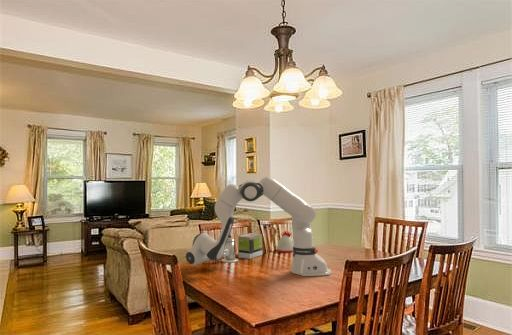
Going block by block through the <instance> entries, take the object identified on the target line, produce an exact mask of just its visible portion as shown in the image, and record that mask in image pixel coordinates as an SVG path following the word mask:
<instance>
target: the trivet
mask: <svg viewBox="0 0 512 335" xmlns="http://www.w3.org/2000/svg"><path fill="white" fill-rule="evenodd" d="M221 262H222V263H225V262H226V263H227V264H228V263H229V264H230V263H231V264H232V263H237V262H239V257H238V258H237V257H234V260H230V261H229V260H226V257H223V258H221ZM226 263H225V264H226Z"/></svg>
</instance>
